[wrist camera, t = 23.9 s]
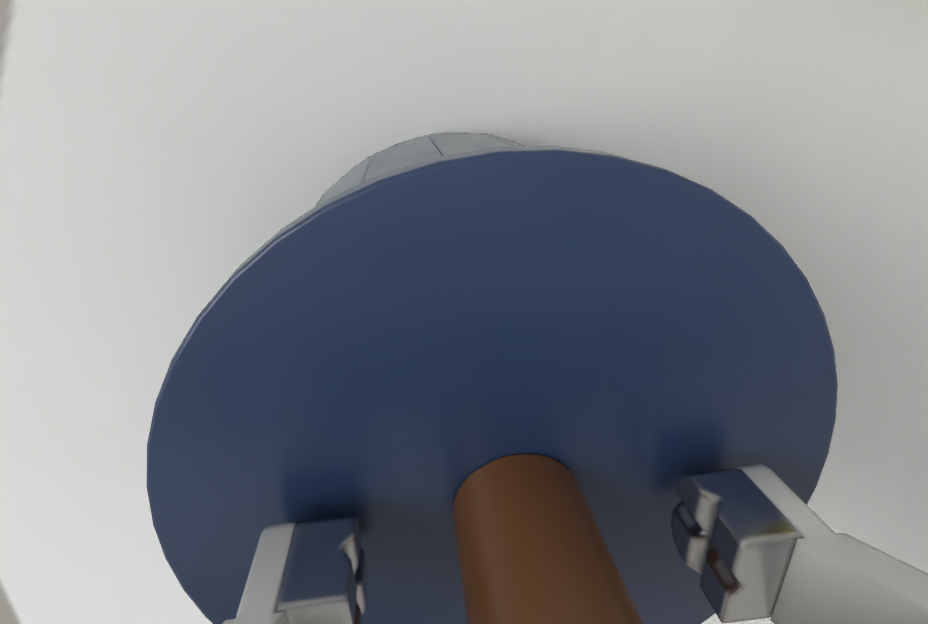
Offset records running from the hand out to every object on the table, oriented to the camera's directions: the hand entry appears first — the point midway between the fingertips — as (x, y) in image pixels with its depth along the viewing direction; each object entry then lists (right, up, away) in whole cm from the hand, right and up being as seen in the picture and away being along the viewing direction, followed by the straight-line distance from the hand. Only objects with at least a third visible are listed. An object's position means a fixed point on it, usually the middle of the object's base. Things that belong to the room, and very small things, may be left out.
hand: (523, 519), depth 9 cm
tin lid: (0, 0, +1) cm, 1 cm away
